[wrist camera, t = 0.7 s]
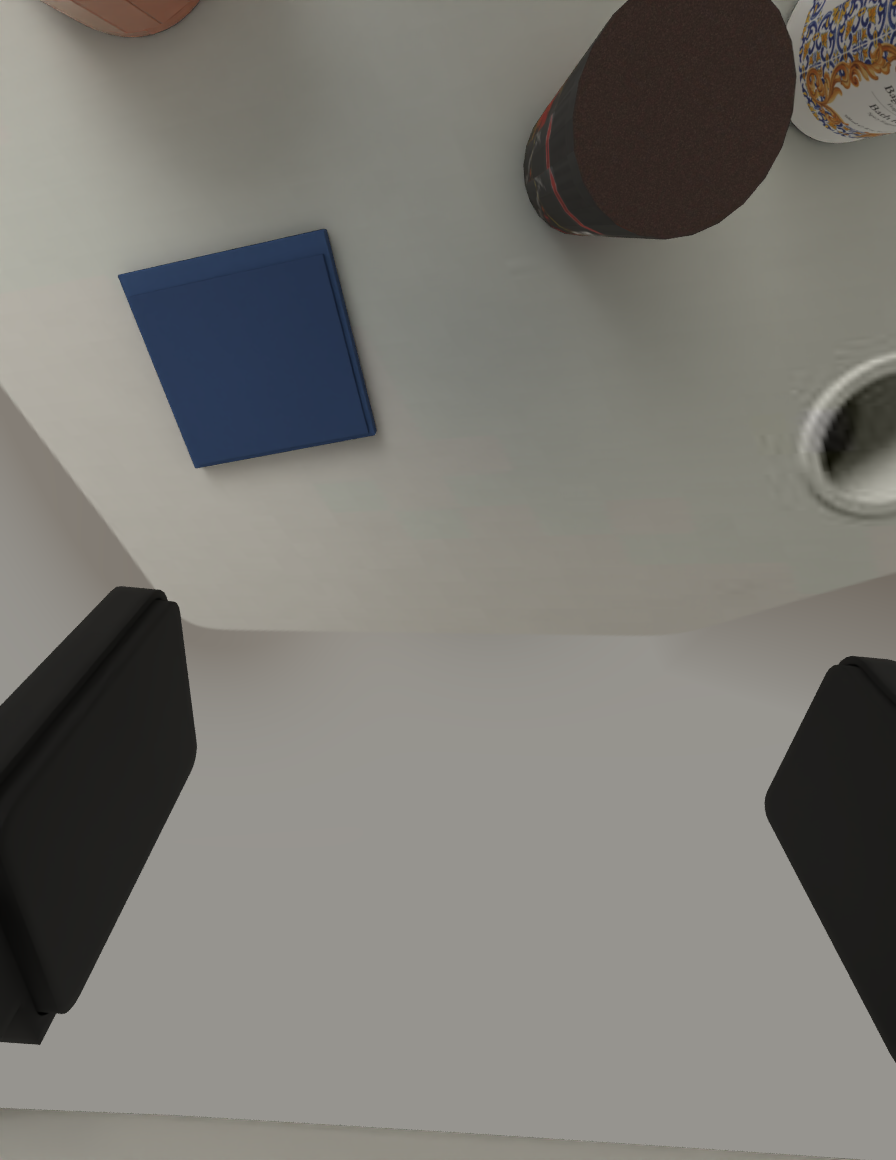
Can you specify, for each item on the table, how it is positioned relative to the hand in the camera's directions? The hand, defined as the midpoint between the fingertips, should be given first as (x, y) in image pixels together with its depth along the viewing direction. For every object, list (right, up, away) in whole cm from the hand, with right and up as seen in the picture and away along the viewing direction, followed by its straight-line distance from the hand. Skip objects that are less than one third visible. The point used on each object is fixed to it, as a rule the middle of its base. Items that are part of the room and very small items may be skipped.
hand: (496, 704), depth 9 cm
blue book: (-11, +14, +25) cm, 31 cm away
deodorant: (+6, +22, +21) cm, 31 cm away
